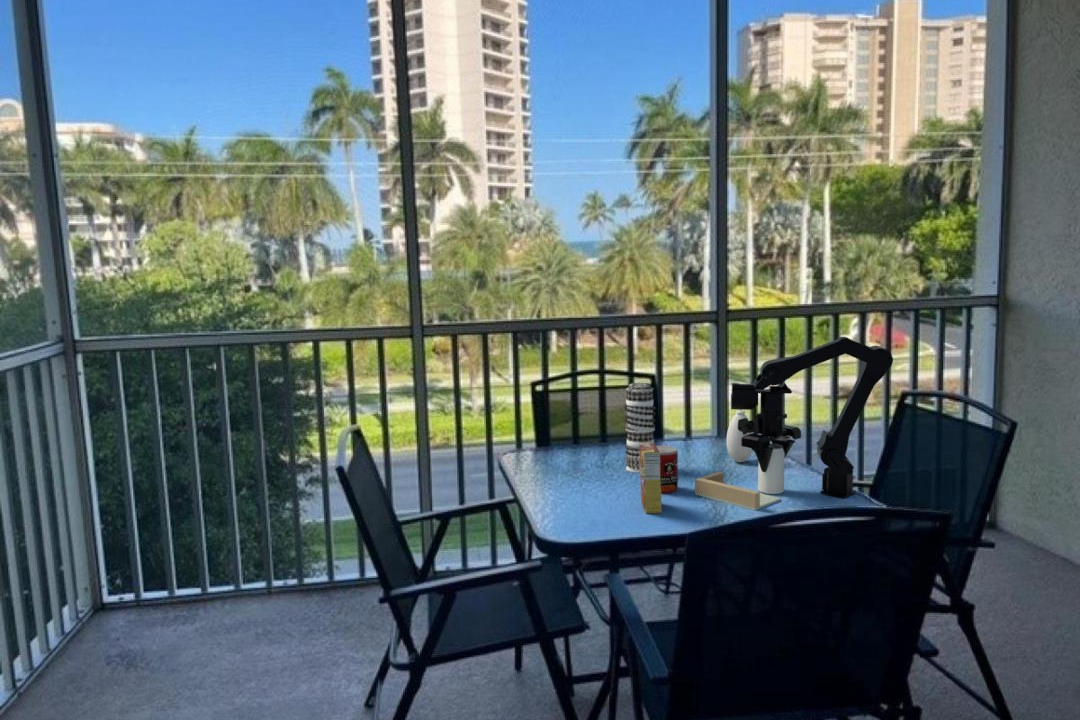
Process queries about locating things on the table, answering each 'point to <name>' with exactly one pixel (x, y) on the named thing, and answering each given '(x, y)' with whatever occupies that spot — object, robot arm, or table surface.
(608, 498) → the table surface
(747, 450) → the sauce bottle
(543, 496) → the table surface
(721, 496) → the cleat board
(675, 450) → the canned food
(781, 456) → the can
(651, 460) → the candy box
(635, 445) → the decorative candle
